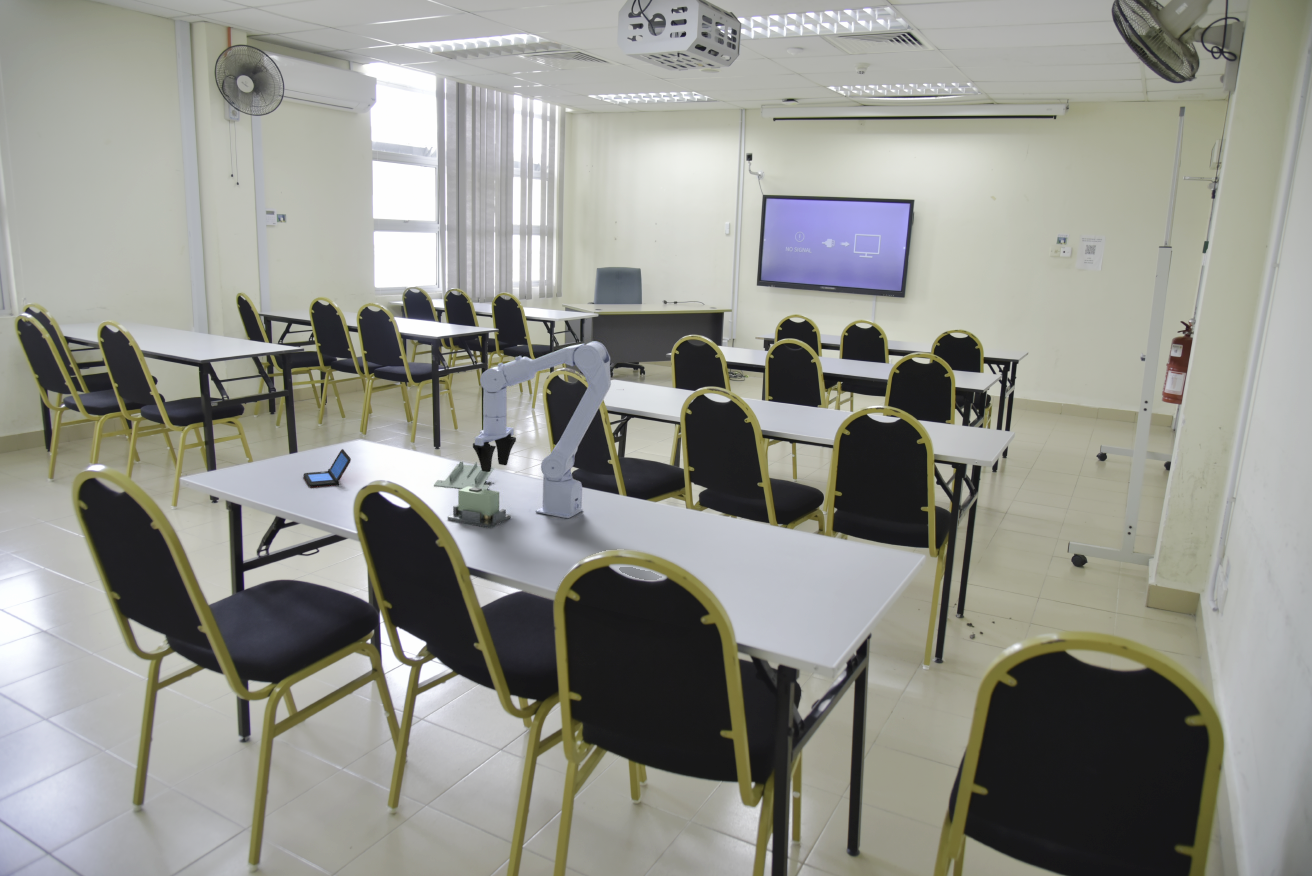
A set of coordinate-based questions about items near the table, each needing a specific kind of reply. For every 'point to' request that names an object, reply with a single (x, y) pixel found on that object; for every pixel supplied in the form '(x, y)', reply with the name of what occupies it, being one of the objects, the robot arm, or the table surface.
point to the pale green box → (478, 500)
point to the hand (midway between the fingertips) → (494, 467)
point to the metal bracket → (465, 477)
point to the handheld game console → (329, 472)
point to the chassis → (478, 517)
